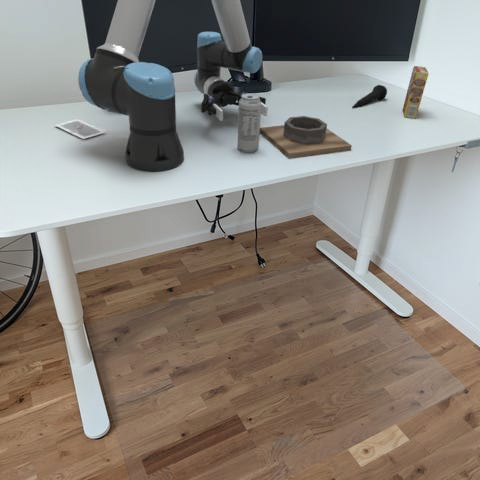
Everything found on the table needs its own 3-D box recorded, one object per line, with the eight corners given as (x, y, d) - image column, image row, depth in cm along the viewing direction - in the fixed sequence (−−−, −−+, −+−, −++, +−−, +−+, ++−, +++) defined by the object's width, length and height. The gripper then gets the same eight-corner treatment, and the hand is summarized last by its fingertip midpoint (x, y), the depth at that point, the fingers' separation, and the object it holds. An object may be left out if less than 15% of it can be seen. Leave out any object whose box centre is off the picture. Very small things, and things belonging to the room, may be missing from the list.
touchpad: (78, 122, 143) (76, 115, 142) (107, 135, 135) (106, 128, 134) (55, 128, 138) (53, 121, 137) (83, 142, 130) (82, 135, 129)
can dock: (350, 150, 132) (354, 131, 129) (288, 158, 125) (290, 139, 122) (316, 126, 147) (318, 109, 144) (259, 132, 141) (260, 114, 137)
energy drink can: (261, 147, 131) (264, 94, 123) (254, 155, 126) (257, 100, 118) (241, 143, 133) (243, 91, 124) (234, 151, 128) (235, 97, 119)
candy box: (417, 119, 157) (429, 73, 148) (404, 117, 157) (415, 71, 149) (414, 110, 164) (426, 66, 155) (402, 109, 165) (412, 65, 156)
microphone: (355, 118, 165) (386, 100, 175) (361, 104, 160) (392, 87, 171) (344, 110, 167) (374, 93, 177) (349, 96, 162) (380, 80, 173)
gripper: (254, 100, 152) (282, 122, 135) (181, 107, 143) (202, 130, 127) (255, 77, 147) (285, 96, 131) (180, 82, 139) (202, 104, 123)
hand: (244, 113), depth 129 cm, fingers open, 13 cm apart
